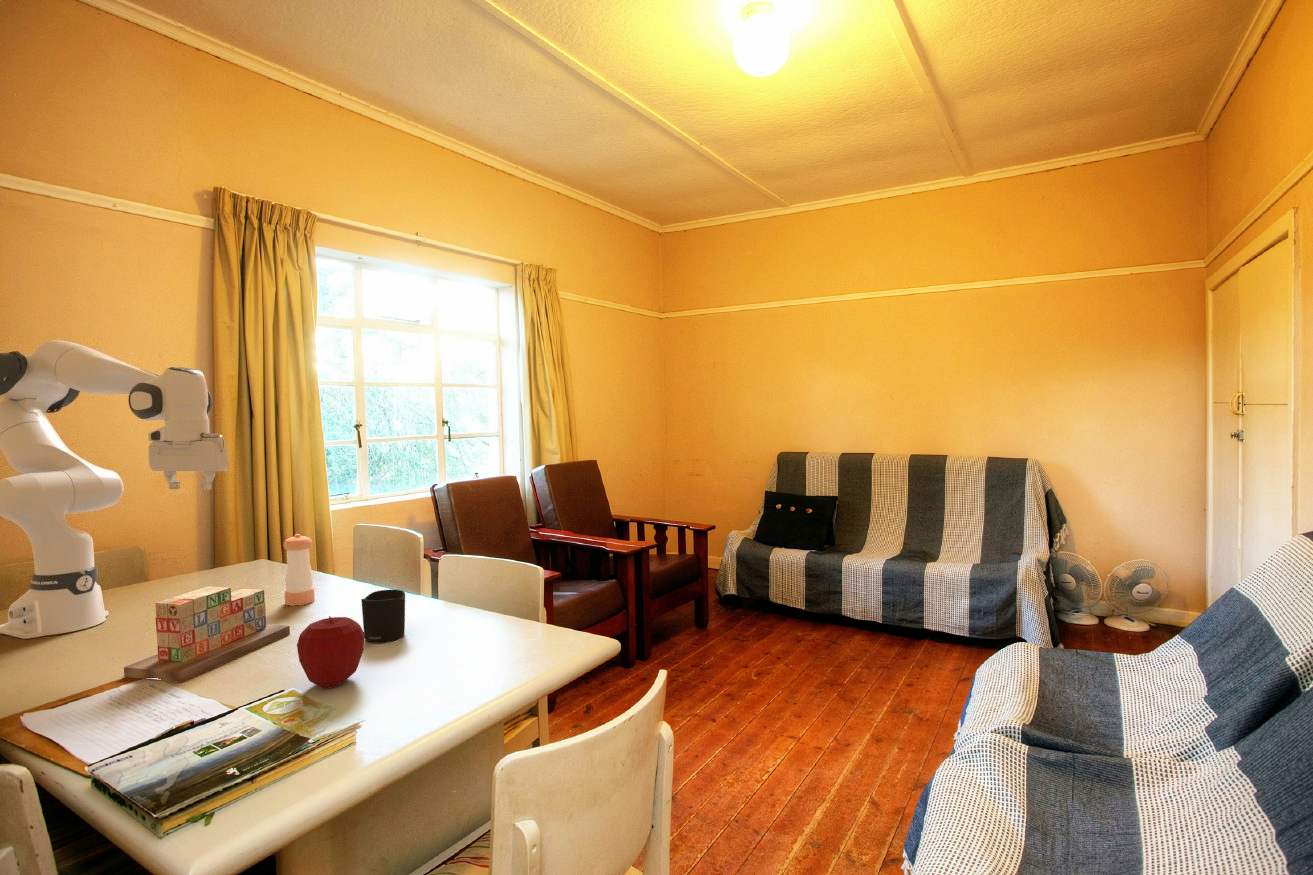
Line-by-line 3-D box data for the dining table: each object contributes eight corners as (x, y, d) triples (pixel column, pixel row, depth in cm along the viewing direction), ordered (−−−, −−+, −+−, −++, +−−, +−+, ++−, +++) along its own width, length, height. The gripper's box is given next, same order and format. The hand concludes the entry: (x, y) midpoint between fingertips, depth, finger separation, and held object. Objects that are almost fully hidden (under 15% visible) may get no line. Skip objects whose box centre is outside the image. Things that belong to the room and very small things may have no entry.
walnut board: (124, 676, 131) (123, 667, 131) (240, 630, 158) (239, 622, 158) (181, 682, 128) (181, 672, 128) (289, 633, 155) (289, 625, 155)
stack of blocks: (244, 626, 155) (242, 575, 154) (266, 628, 153) (264, 576, 153) (157, 660, 134) (154, 601, 133) (181, 663, 132) (179, 603, 132)
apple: (361, 691, 122) (358, 622, 122) (291, 700, 119) (289, 628, 118) (369, 667, 134) (367, 603, 133) (306, 675, 130) (304, 609, 130)
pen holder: (355, 637, 152) (354, 595, 151) (395, 627, 159) (393, 587, 158) (373, 647, 145) (372, 603, 145) (413, 636, 152) (412, 594, 152)
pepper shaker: (306, 596, 186) (304, 530, 185) (319, 601, 182) (317, 533, 181) (280, 603, 180) (277, 534, 179) (292, 607, 176) (290, 537, 175)
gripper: (234, 432, 161) (236, 488, 161) (166, 433, 165) (168, 487, 166) (212, 433, 155) (214, 491, 155) (141, 434, 159) (144, 490, 159)
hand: (190, 489), depth 160 cm, fingers open, 8 cm apart
